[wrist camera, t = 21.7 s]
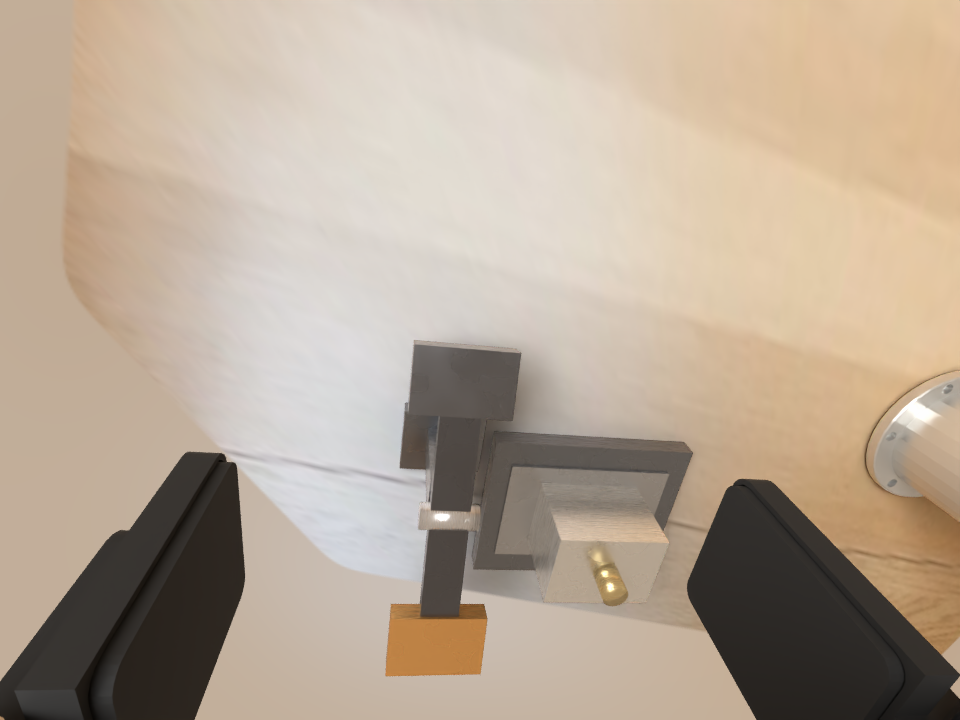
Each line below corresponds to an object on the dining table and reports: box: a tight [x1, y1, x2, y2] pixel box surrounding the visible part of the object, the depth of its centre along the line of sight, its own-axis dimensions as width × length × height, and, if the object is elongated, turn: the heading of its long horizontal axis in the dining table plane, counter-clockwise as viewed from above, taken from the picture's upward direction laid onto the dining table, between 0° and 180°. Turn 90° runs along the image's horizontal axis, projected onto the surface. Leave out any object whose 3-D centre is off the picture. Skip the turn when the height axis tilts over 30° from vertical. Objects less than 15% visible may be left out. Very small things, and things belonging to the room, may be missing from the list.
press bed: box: [400, 403, 693, 570], centre depth 39 cm, size 23×15×7 cm, turn 82°
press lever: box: [386, 340, 521, 676], centre depth 31 cm, size 6×21×2 cm, turn 172°
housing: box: [528, 483, 669, 606], centre depth 38 cm, size 8×6×8 cm
